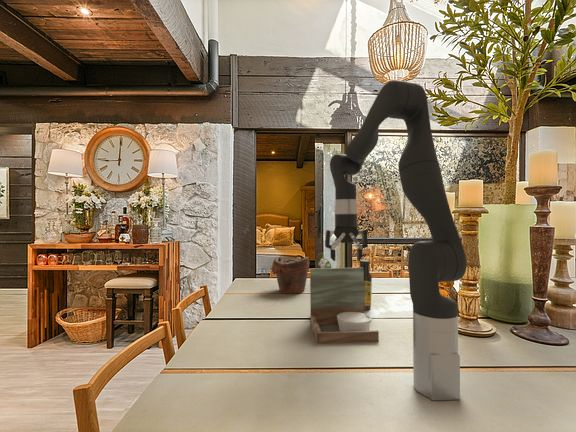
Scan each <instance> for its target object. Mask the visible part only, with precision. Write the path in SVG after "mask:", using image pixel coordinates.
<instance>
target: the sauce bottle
mask: <svg viewBox="0 0 576 432" xmlns="http://www.w3.org/2000/svg"><path fill="white" fill-rule="evenodd" d="M370 263H371V262H370V260H367V259H361V260H360V261H359V268H364V311H365V310H367V311H368V310H370V309H371V307H372V289H373V288H372V286H373V283H372V282H373V281H372V278H373V276H372V275H371V272H370Z"/></svg>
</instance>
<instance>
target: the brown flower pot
mask: <svg viewBox="0 0 576 432" xmlns="http://www.w3.org/2000/svg"><path fill="white" fill-rule="evenodd" d="M310 263H311V262H310V258H309V257H308V256H305V257H304V258H299V259H293V258H292V259H291V258H288V257H287V258H286V257H282V256H280V257H276V258H274V260H273V261H272V264H271V268H270V269H271V272H272V274H273V275H275V276H276V280H277V284H278V291H279V292H280V293H283V294H284V293H285V294H301V293H304V292H305V290H306V283H307V279H308V278H307V277H308V272H309V270H310Z"/></svg>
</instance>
